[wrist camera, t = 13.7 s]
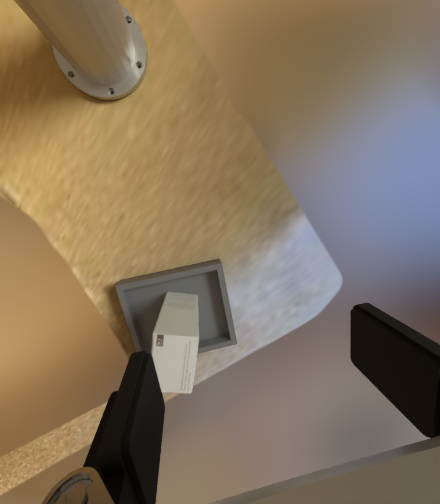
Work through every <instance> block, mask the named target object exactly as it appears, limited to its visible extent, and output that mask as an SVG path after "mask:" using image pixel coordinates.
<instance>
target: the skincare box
mask: <svg viewBox="0 0 440 504" xmlns="http://www.w3.org/2000/svg"><path fill="white" fill-rule="evenodd" d="M198 344H199V327H198V295H197V294H186V293H176V292H166V296H165V299H164V302H163V305H162V307H161V311H160V313H159V316H158V319H157V322H156V325H155V328H154V331H153V334H152V349H151V354H152V357H153V361H154V365H155V369H156V372H157V376H158V380H159V384H160V388H161V392H170V393H192V388H193V382H194V376H195V368H196V361H197V352H198Z"/></svg>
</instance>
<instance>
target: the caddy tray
mask: <svg viewBox="0 0 440 504" xmlns="http://www.w3.org/2000/svg"><path fill="white" fill-rule="evenodd" d="M115 288H116V291H117V294H118V298H119V301H120V304H121V307H122V310H123V314H124V317H125V320H126V323H127V326H128V329H129V333H130V336H131V339H132V342H133V345H134V349H135V352H139V351H144V350H146V351H147V353H151V349H152V334H153V331H154V328H155V325H156V322H157V319H158V316H159V313H160V311H161V307H162V305H163V302H164V299H165V296H166V292H176V293H186V294H197V295H198V327H199V344H198V352H197V354H198V353H202V352H206V351H210V350H214V349H218V348H222V347H226V346H231V345H235V344H237V340H236V335H235V330H234V325H233V320H232V314H231V309H230V304H229V299H228V294H227V288H226V283H225V278H224V273H223V267H222V263H221V261H220V259H216V260H212V261H207V262H202V263H198V264H193V265H188V266H184V267H179V268H174V269H170V270H165V271H160V272H156V273H151V274H146V275H142V276H137V277H133V278H128V279H123V280H120V281H119V282H118V283H117V284H116V285H115Z"/></svg>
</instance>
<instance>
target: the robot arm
mask: <svg viewBox="0 0 440 504" xmlns="http://www.w3.org/2000/svg"><path fill="white" fill-rule="evenodd" d="M14 1H15V2H16V3H17V4H18V6H19V7H20V8H21V9H22V10H23V11H24V12H25V14H26V15H27V16H28V17H29V18H30V19H31V20H32V22H33V23H34V24H35V25H36V26H37V27H38V29H39V30H40V31H41V32H42V33H43V34H44V35H45V37H46V38H47V39H48V40H49V41H50V42H51V45H52V49H53V54H54V56H55V59H56V61H57V64H58V66H59V67H60V69H61V71H62V72H63V74H64V75H65V76H66V77H67V78H68V80H69V81H70V82H71V83H72V84H73V85H74V86H75V87H77V88H78V89H79V90H81V91H82V92H83V93H85V94H87V95H89V96H91V97H94V98H97V99H101V100H117V99H120V98H123V97H125V96H127V95H129V94H130V93H132V92H133V91H134V90H135V89H136V88H137V87H138V85H139V84H140V82H141V81H142V79H143V76H144V74H145V70H146V66H147V51H146V45H145V41H144V37H143V35H142V32H141V30H140V27H139V25H138V24H137V22H136V20H135V19H134V17H133V16H132V15H131V14H130V13H129V11H128V10H127V9H126V8H124V7H123V6H122V5H121V4H120V2H119V0H14ZM139 67H141V68H139ZM73 76H74V77H73ZM112 92H114V94H111V93H112ZM351 360H352V362H353V364H354V365H355V366H356V367H357V368H358V369H359V370H360V371H361V372H362V373H363V374H364V375H365V376H366V377H367V378H368V379H369V380H370V381H371V382H372V383H373V384H374V385H375V386H376V387H377V388H378V390H379V391H380V392H382V394H383V395H385V397H386V398H387V399H388V400H389V401H390V402H391V403H393V405H395V407H396V408H398V410H399V411H401V413H402V414H403V415H404V416H405V417H406V418H407V419H408V420H409V421H410V422H411V423H413V425H414V426H415V427H416V428H417V429H418V430H419V431H420V432H421V433H422V434H423V435H425V436H426V437H430V439H427V440H424V441H420V442H417V443H413V444H409V445H406V446H402V447H399V448H395V449H392V450H388V451H385V452H382V453H378V454H374V455H371V456H368V457H364V458H360V459H357V460H353V461H350V462H346V463H343V464H340V465H336V466H333V467H329V468H326V469H322V470H319V471H316V472H312V473H309V474H306V475H302V476H298V477H295V478H292V479H289V480H285V481H282V482H278V483H275V484H272V485H269V486H265V487H262V488H258V489H255V490H252V491H248V492H245V493H241V494H238V495H235V496H232V497H228V498H225V499H222V500H219V501H216V502H212V503H209V504H440V345H439V344H438V343H436V342H434V341H432V340H431V339H429V338H427V337H425V336H424V335H422V334H420V333H419V332H417V331H415V330H414V329H412V328H410V327H408V326H407V325H405V324H403V323H402V322H400V321H398V320H397V319H395V318H393V317H391V316H389V315H388V314H386V313H385V312H383V311H381V310H380V309H378V308H376V307H374V306H372V305H371V304H369V303H364V304H358V305H355V306H354V307H353V309H352V310H351ZM164 413H165V406H164V399H163V396H162V392H161V388H160V384H159V380H158V376H157V372H156V369H155V365H154V361H153V357H152V354H151V353H147V351H146V350H144V351H139V352H134V353H132V354H131V356H130V359H129V362H128V365H127V367H126V370H125V373H124V376H123V379H122V382H121V385H120V387H119V390H118V391H114V392H113V393H112V394H111V396H110V398H109V400H108V403H107V405H106V408H105V411H104V413H103V416H102V418H101V421H100V424H99V426H98V429H97V432H96V434H95V437H94V439H93V442H92V445H91V448H90V450H89V452H88V455H87V458H86V460H85V463H84V466H83V468H79V469H76V470H75V471H72V472H70V473H69V474H68V475H66V476H65V477H63V478H62V479H61V480H60V481H59V482H58V483H57V484H56V485H55V486H54V487H53V488H52V489H51V491H50V492H49V493H48V495H47V496H46V498H45V499H44V501H43V502H42V504H155V503H156V493H157V482H158V472H159V463H160V453H161V442H162V433H163V422H164Z"/></svg>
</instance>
